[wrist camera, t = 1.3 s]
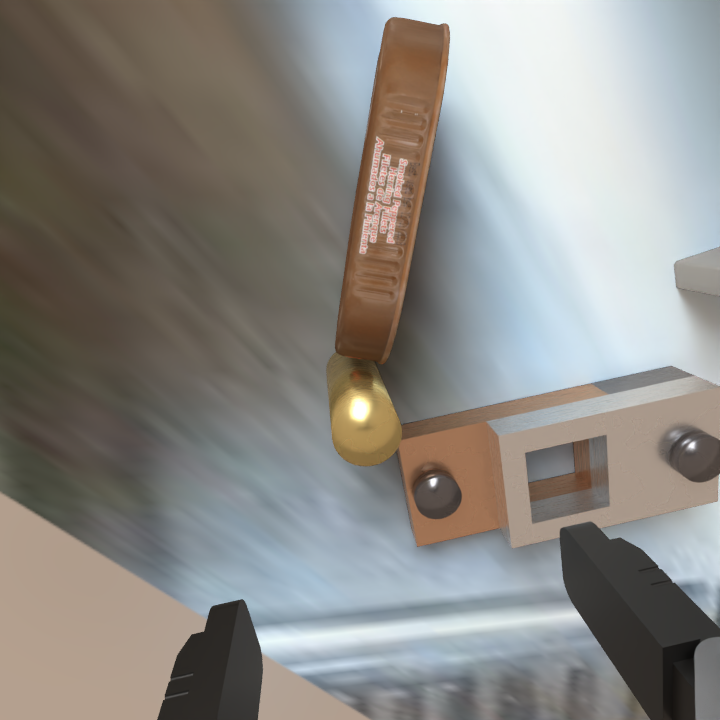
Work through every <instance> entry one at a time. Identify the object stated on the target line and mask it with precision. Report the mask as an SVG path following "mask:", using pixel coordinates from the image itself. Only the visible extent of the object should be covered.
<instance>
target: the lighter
mask: <svg viewBox="0 0 720 720" xmlns="http://www.w3.org/2000/svg"><path fill="white" fill-rule="evenodd" d="M674 270H675V279H676V287H678V288H680V289H685V290H690V291H695V292H700V293H705V294H710V295H716V296H720V247H718V248H715V249H712V250H709V251H706V252H703V253H700V254H697V255H694V256H690V257H687V258H684V259H681V260H678V261H676V262H675V264H674Z"/></svg>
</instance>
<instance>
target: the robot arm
mask: <svg viewBox="0 0 720 720" xmlns="http://www.w3.org/2000/svg"><path fill="white" fill-rule="evenodd" d="M560 546H561V559H562V571H563V580H564V584H565V587H566V590H567V593H568V595H569V597H570V600H571V601H572V603H573V605H574V606H575V608H576V609H577V611H578V612H579V614H580V615H581V617H582V618H583V620H584V621H585V623H586V624H587V626H588V627H589V629H590V630H591V632H592V633H593V635H594V636H595V638H596V639H597V641H598V642H599V644H600V645H601V647H602V648H603V650H604V651H605V653H606V654H607V656H608V657H609V659H610V660H611V661H612V663H613V664H614V666H615V667H616V669H617V670H618V672H619V673H620V675H621V676H622V678H623V679H624V681H625V682H626V684H627V685H628V687H629V688H630V690H631V691H632V693H633V694H634V696H635V697H636V699H637V700H638V702H639V703H640V705H641V706H642V708H643V709H644V711H645V712H646V714H647V715H648V717H649V718H650V720H720V628H719V627H718V626H717V625H716V624H715V623H714V622H713V621H712V620H711V619H710V618H709V617H708V616H707V615H706V614H705V613H704V612H703V611H702V610H701V609H700V608H699V607H698V606H697V605H696V604H695V603H694V602H693V601H692V600H691V599H690V598H689V597H688V596H687V595H686V594H685V593H684V592H683V591H682V590H681V589H680V588H679V587H678V586H677V585H676V584H675V583H673V582H672V581H671V579H670V578H669V577H668V576H667V575H666V574H665V573H664V571H663V570H662V569H659V568H658V565H657V564H656V563H655V562H654V561H653V560H652V559H651V558H650V557H649V556H648V555H647V554H646V553H645V552H644V551H643V550H642V549H640V548H638V547H636V546H634V545H633V544H631V543H629V542H627V541H625V540H624V539H622V538H616V539H612V540H609V539H608V537H607V536H606V535H605V534H604V533H603V532H602V531H601V530H600V529H599V528H598V527H597V525H595V524H594V523H593V522H591V521H589V522H585V523H580V524H576V525H571V526H567V527H563V528H561V529H560ZM262 674H263V664H262V654H261V649H260V645H259V642H258V639H257V636H256V632H255V629H254V626H253V623H252V620H251V617H250V614H249V611H248V608H247V605H246V603H245V601H244V600H243V599H241V600H237V601H232V602H228V603H224V604H219V605H215V606H212V607H211V609H210V612H209V615H208V619H207V623H206V627H205V631H204V632H201V633H196V634H192V635H191V636H190V638H189V639H188V641H187V642H186V643H185V645H184V646H183V648H182V649H181V651H180V652H179V654H178V655H177V658H176V661H175V664H174V668H173V671H172V674H171V681H170V682H169V683H168V687H167V690H166V694H165V700H163V703H162V706H161V709H160V713H159V716H158V719H157V720H258V711H259V702H260V693H261V684H262Z"/></svg>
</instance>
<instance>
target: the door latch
mask: <svg viewBox="0 0 720 720" xmlns="http://www.w3.org/2000/svg"><path fill="white" fill-rule="evenodd" d="M401 427H402V438H401V442H400V445H399V447H398V449H397V455H398V460H399V465H400V470H401V476H402V481H403V486H404V492H405V497H406V502H407V507H408V513H409V518H410V523H411V528H412V531H413V534H414V538H415V541H416V544H417V547H419V546H423V545H428V544H432V543H436V542H441V541H445V540H450V539H454V538H458V537H463V536H467V535H472V534H476V533H480V532H485V531H489V530H494V529H498V528H500V530H501V531H502V533H503V535H504V536H505V538H506V540H507V541H508V543H509V545H510V546H511V548H516V547H521V546H525V545H529V544H534V543H538V542H542V541H547V540H551V539H556V538H560V529H561V528H563V527H567V526H571V525H576V524H580V523H585V522H589V521H591V522H593V523H594V524H595V525H597V527H598V528H603V527H608V526H612V525H617V524H621V523H625V522H630V521H634V520H638V519H643V518H647V517H651V516H656V515H660V514H665V513H669V512H673V511H678V510H682V509H686V508H691V507H695V506H699V505H704V504H708V503H713V502H717V501H718V476H719V474H720V386H719V385H716V384H714V383H711V382H709V381H706V380H704V379H702V378H699V377H697V376H694V375H692V374H690V373H687V372H685V371H682V370H680V369H678V368H675V367H673V366H669V367H664V368H660V369H655V370H650V371H646V372H641V373H637V374H632V375H628V376H623V377H618V378H614V379H609V380H605V381H600V382H595V383H591V384H586V385H582V386H577V387H573V388H568V389H563V390H559V391H554V392H550V393H545V394H541V395H536V396H531V397H527V398H522V399H518V400H513V401H508V402H504V403H499V404H495V405H490V406H486V407H481V408H476V409H472V410H467V411H463V412H458V413H454V414H449V415H444V416H440V417H435V418H431V419H426V420H422V421H417V422H412V423H408V424H403V425H401ZM571 442H573V447H574V462H575V473H571V474H567V475H562V476H558V477H553V478H549V479H544V480H540V481H535V482H531V483H528V477H527V467H526V457H525V453H526V452H531V451H535V450H540V449H544V448H549V447H553V446H557V445H562V444H566V443H571Z"/></svg>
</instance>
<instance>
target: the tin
mask: <svg viewBox="0 0 720 720" xmlns="http://www.w3.org/2000/svg"><path fill="white" fill-rule="evenodd" d="M449 43H450V31H449V26H448V25H447V24H441V25H436V24H430V23H425V22H420V21H415V20H410V19H405V18H397V17H393V18H390V19H389V20H388V21H387V22H386V24H385V28H384V32H383V37H382V43H381V49H380V53H379V57H378V62H377V68H376V74H375V80H374V86H373V92H372V98H371V104H370V111H369V118H368V124H367V130H366V136H365V142H364V148H363V154H362V160H361V166H360V172H359V178H358V184H357V190H356V196H355V202H354V208H353V215H352V221H351V228H350V235H349V242H348V249H347V256H346V264H345V271H344V278H343V285H342V292H341V299H340V306H339V313H338V321H337V332H336V341H335V349H336V352H337V353H338V354H339V355H342V356H346V357H351V358H358V359H364V360H371V361H376V362H378V363H379V364H384V363H385V362H386V361H387V359H388V357H389V355H390V352H391V349H392V346H393V342H394V339H395V336H396V332H397V328H398V324H399V320H400V316H401V311H402V306H403V301H404V297H405V292H406V287H407V281H408V276H409V271H410V266H411V260H412V255H413V251H414V245H415V240H416V235H417V229H418V224H419V218H420V213H421V208H422V203H423V198H424V192H425V188H426V182H427V177H428V171H429V167H430V162H431V156H432V151H433V146H434V141H435V136H436V130H437V126H438V121H439V115H440V110H441V105H442V100H443V94H444V87H445V80H446V72H447V66H448V55H449Z"/></svg>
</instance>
